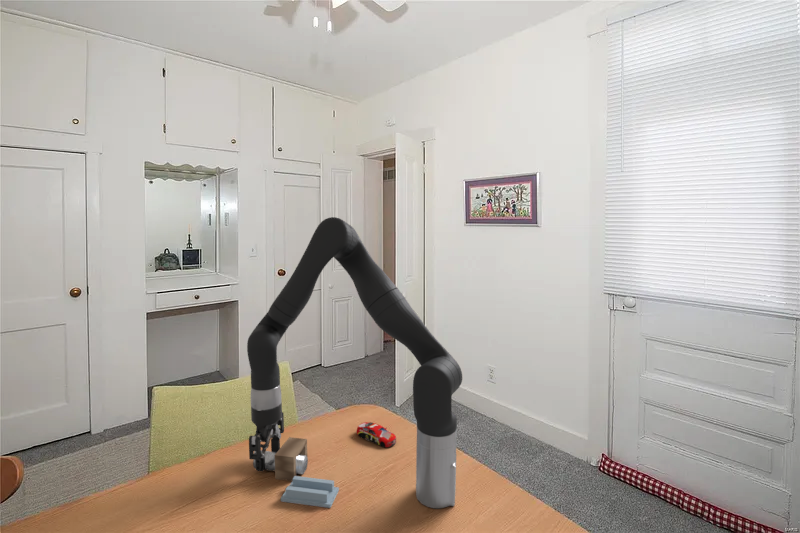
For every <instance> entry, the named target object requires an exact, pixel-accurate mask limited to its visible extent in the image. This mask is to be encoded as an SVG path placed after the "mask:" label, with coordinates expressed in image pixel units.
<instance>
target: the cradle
mask: <svg viewBox="0 0 800 533" xmlns="http://www.w3.org/2000/svg"><path fill="white" fill-rule="evenodd" d="M286 486H287V487H286V488H285V491H284V493H283V494H282V495H281V497H280V502H282V503H283V502H284V503H291V504H297V505H305V506H313V507H322V508H328V509H331V508H332V506H333V503H334V502H335V499H336V497H337V495H338V493H339V492H340V491H339V490H340V487H338V486H335V480H334V479H333V480H331V479H323V478H314V477H307V476H299V475H296V476H294V477H293V481H290V483H289V485H286Z"/></svg>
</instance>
